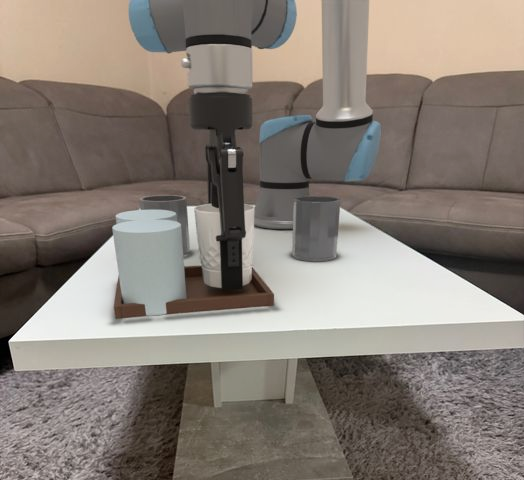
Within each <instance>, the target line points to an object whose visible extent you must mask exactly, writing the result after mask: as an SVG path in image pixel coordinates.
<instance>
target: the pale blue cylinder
mask: <svg viewBox="0 0 524 480" xmlns="http://www.w3.org/2000/svg"><path fill="white" fill-rule="evenodd" d="M111 230H112V236H113V245H114V250H115V258H116V264H117V272H118V275H119V279H120V286H121V293H122V301H123V304H127V303H137V304H145V310H146V316H145V317H151V316H152V317H153V315H154V316H164V315H163V314H166V315H168V314H167V312H166V302H170V301H174V300H179V299H187V297H186V284H185V271H184V266H185V261H184V260H185V259H184V255H183V245H182V232H181V224H180V223H179V222H176V221H171V220H156V219H151V220H135V221H127V222H122V223H119V224H117V223H116V224H114V225H112V227H111Z"/></svg>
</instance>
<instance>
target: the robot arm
mask: <svg viewBox="0 0 524 480" xmlns="http://www.w3.org/2000/svg"><path fill="white" fill-rule="evenodd" d="M297 16H298V11H297V3H296V0H129V1H128V20H129V25H130V28H131V31H132V33H133V35H134V37H135V40H136V41H137V43H138V44H139V45H140V47H141V48H143V49H144V50H145V51H146V52H150V53H166V54H172V53H178V52H185V54H186V57H182V58H181V61H180V62H181V65H180V66H181V67H182V68H183V69H188V72H187V86H188V88H189V89H190V90H193V94H190V96H189V97H188V109H189V112H188V113H189V124H190V127H191V129H193V130H197V131H200V130H202V131H204V130H205V131H207V130H208V131H209V135H208V136H209V141H208V142H209V144H206V145H205V146H204V157H205V161H206V178H207V179H206V181H207V182H206V183H207V204H212V206H213V207H215V208H219V212H220V225H221V235H217V236H216V241H220V260H221V284H222V290H236V289H243V273H242V238H245V236H246V231H245V215H244V204H245V195H244V194H245V193H244V176H243V174H244V173H243V170H244V169H243V166H244V164H243V163H244V156H245V155H244V151H243V148H241V146H237V137H236V130H240V131H241V130H242V131H243V130H244V131H245V130H246V131H247V130H250V129H251V128H252V127H253V98H252V97H251V95H250V94H248V91H249V90H251V89H252V88H253V47H254V48H257V49H259V50H265V49H266V50H274V49H278V48H280V47H281V46H283V45H284V44H285V43H286V42H288V40H289V39H290V38H291V36H292V34H293V32H294V30H295V27H296V22H297ZM369 19H370V0H321V53H322V54H321V55H322V56H321V57H322V60H321V61H322V63H321V64H322V106H321V108H320V109H319V110H318V112H317V113H316V114H315V121H314V119H313V117H312V116H311V114H301V115H294V116H293V115H290V116H283V117H278V118H272V119H268V120H266V121H264V122H262V124H260V125H261V126H260V127H259V141H258V146H259V154H258V155H259V191H258V195H257V199H256V202H255V205H254V207H255V215H254V227H259V228H263V229H269V230H293V209H294V198H296V197H302V196H311V194H310V180H319V181H321V180H324V181H338V182H339V181H340V182H341V181H342V182H345V183H347V182H361V181H364V180H366V179H367V178H368V177H369V176H370V174H371V173H372V170H373V168H374V165H375V163H376V159H377V157H378V153H379V147H380V142H381V136H382V135H381V134H382V130H381V128H382V125H381V123H380V122H379V121H376V120H373V117H374V110H373V109H372V108H371V107H370V106H369V104H368V103H367V101H366V100H367V98H366V97H367V73H368V71H367V70H368V47H369ZM230 227H236V228H230Z"/></svg>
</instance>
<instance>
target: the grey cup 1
mask: <svg viewBox="0 0 524 480" xmlns="http://www.w3.org/2000/svg"><path fill="white" fill-rule="evenodd" d="M139 207H140V208H139V210H168V211H173V212H175V213H176V215H177V222H179V223H180V224H181V232H182V245H183V256H185V255H188V254H189V253H190V252H191V243H190V230H189V229H190V228H189V216H188V201H187V197H186V196H183V195H178V194H177V195H175V194H174V195H173V194H159V195H147V196H142V197H140V198H139Z"/></svg>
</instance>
